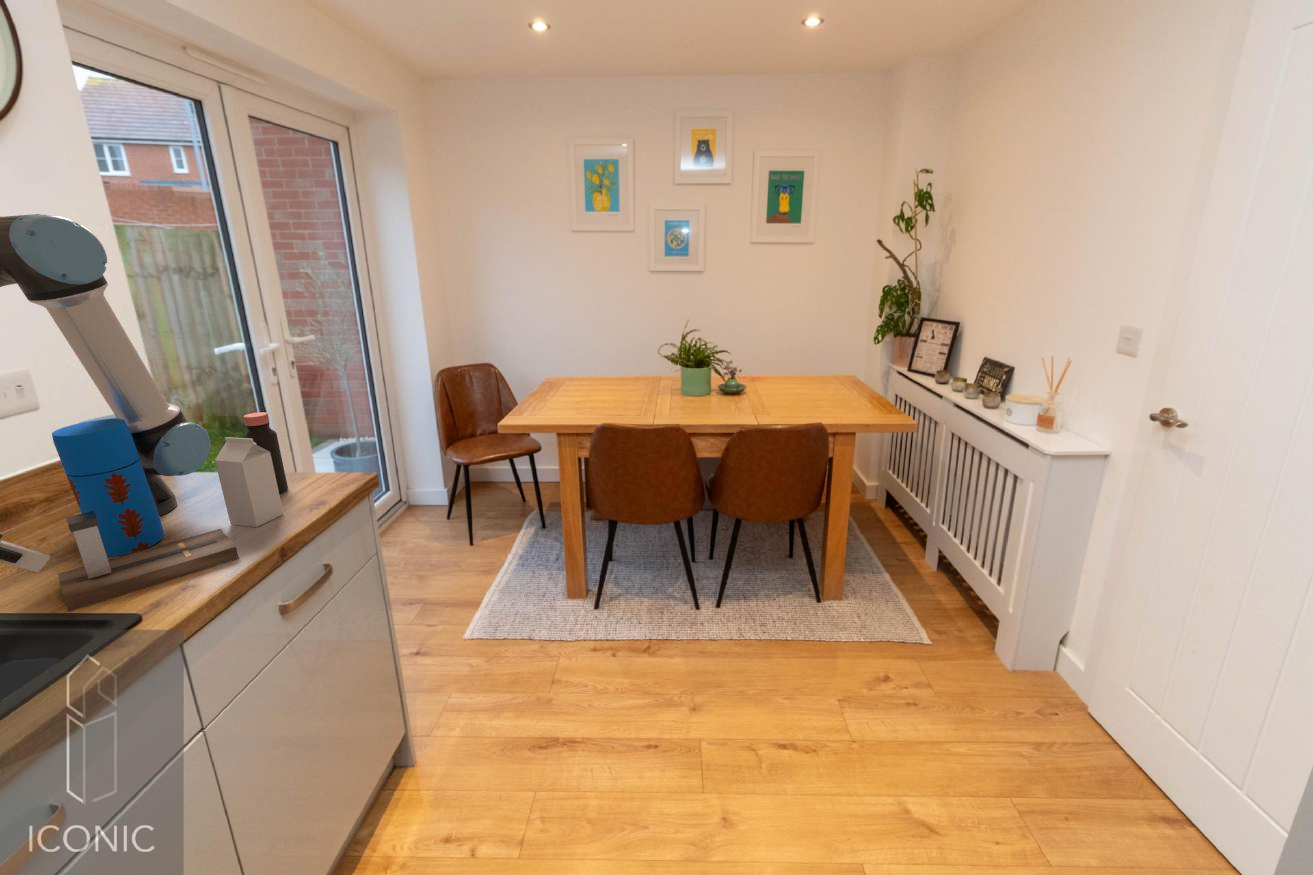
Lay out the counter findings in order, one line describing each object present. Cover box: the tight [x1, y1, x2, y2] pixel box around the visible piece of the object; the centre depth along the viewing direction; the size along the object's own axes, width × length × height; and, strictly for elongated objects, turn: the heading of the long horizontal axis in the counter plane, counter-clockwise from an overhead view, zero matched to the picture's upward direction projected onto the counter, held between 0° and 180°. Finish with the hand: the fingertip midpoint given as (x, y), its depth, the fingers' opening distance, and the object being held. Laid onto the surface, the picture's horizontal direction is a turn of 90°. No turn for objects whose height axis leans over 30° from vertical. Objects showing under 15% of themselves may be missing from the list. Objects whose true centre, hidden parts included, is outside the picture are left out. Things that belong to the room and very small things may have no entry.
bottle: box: [242, 411, 289, 495], centre depth 144 cm, size 7×7×20 cm
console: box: [57, 528, 240, 612], centre depth 109 cm, size 12×24×3 cm, turn 137°
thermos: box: [51, 419, 165, 557], centre depth 116 cm, size 11×11×25 cm
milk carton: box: [214, 436, 284, 528], centre depth 128 cm, size 7×7×19 cm
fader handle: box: [65, 511, 112, 579], centre depth 102 cm, size 5×4×10 cm
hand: (43, 563), depth 98 cm, fingers closed
